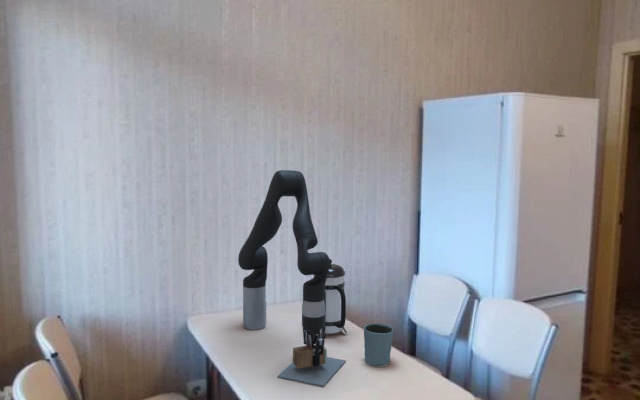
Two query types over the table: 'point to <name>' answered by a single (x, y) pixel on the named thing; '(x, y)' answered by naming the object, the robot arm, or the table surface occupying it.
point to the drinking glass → (377, 344)
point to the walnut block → (306, 356)
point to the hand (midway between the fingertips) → (312, 362)
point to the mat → (313, 372)
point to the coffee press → (334, 301)
